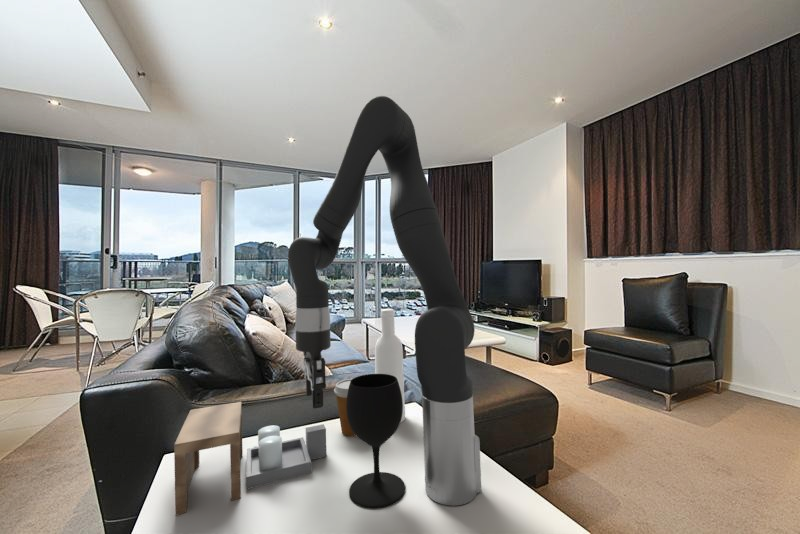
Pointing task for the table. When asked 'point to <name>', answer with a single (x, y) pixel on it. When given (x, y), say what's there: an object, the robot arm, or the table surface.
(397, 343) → the bottle
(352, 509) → the table surface
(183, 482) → the small wooden table
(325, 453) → the tray
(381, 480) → the wine glass
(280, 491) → the table surface
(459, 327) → the robot arm
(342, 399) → the disposable coffee cup
